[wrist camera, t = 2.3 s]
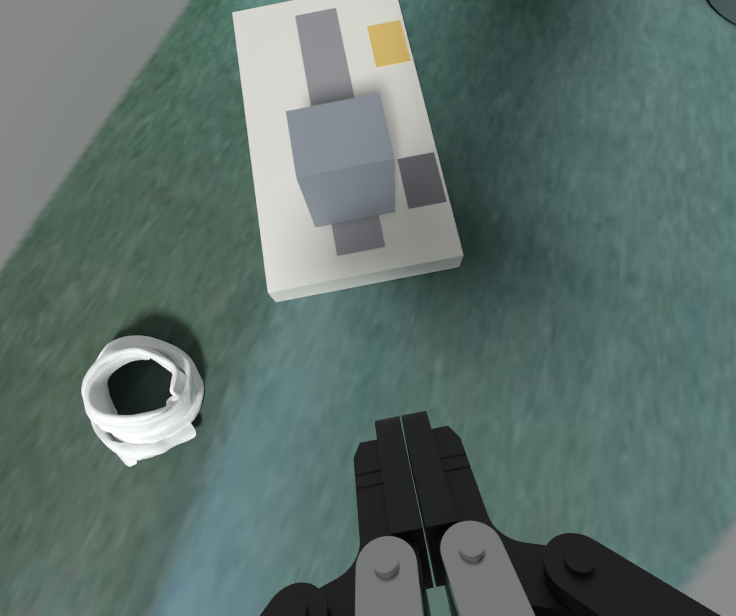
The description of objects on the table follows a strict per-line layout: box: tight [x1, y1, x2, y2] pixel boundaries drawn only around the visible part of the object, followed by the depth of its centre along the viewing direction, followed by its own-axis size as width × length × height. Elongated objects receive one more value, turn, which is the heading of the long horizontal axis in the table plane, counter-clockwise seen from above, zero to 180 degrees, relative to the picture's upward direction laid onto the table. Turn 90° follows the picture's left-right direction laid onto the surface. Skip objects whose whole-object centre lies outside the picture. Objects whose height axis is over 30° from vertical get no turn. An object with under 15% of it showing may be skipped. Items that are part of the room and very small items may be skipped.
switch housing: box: [232, 0, 464, 302], centre depth 32 cm, size 12×22×2 cm, turn 10°
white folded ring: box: [81, 335, 204, 467], centre depth 27 cm, size 8×7×5 cm
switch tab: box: [286, 93, 395, 227], centre depth 27 cm, size 5×4×6 cm
